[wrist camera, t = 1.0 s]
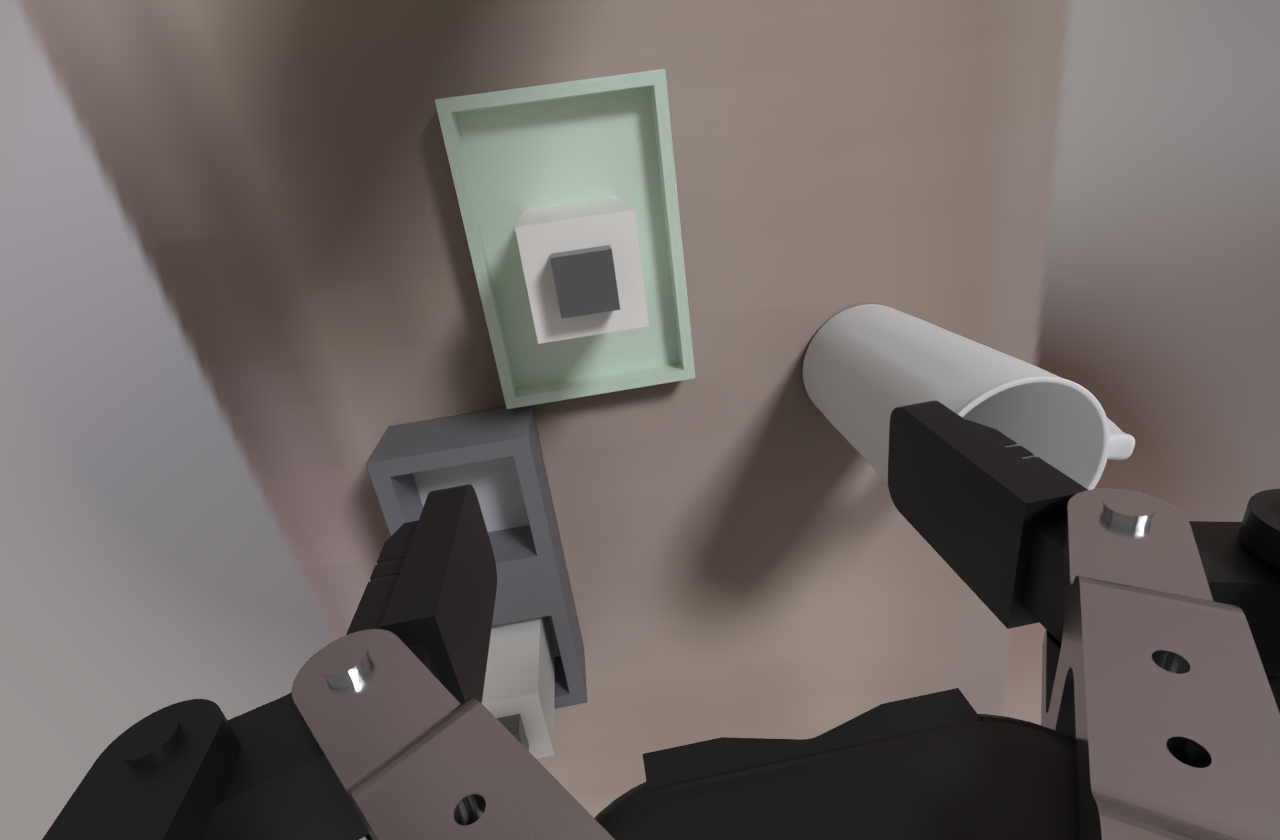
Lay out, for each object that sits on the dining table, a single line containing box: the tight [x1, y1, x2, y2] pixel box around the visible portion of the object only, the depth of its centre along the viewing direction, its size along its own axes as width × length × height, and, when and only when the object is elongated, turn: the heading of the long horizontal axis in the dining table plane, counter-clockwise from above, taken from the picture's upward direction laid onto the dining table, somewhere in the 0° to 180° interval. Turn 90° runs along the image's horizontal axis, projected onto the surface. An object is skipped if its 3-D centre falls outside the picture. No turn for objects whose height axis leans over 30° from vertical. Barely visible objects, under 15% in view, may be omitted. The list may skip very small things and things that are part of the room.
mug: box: [803, 304, 1135, 490], centre depth 27 cm, size 10×7×12 cm, turn 89°
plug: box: [515, 197, 649, 344], centre depth 24 cm, size 4×4×8 cm
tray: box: [434, 69, 695, 409], centre depth 28 cm, size 13×9×2 cm
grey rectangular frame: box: [366, 405, 587, 709], centre depth 32 cm, size 16×7×4 cm, turn 7°
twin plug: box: [482, 616, 555, 759], centre depth 31 cm, size 4×4×8 cm
